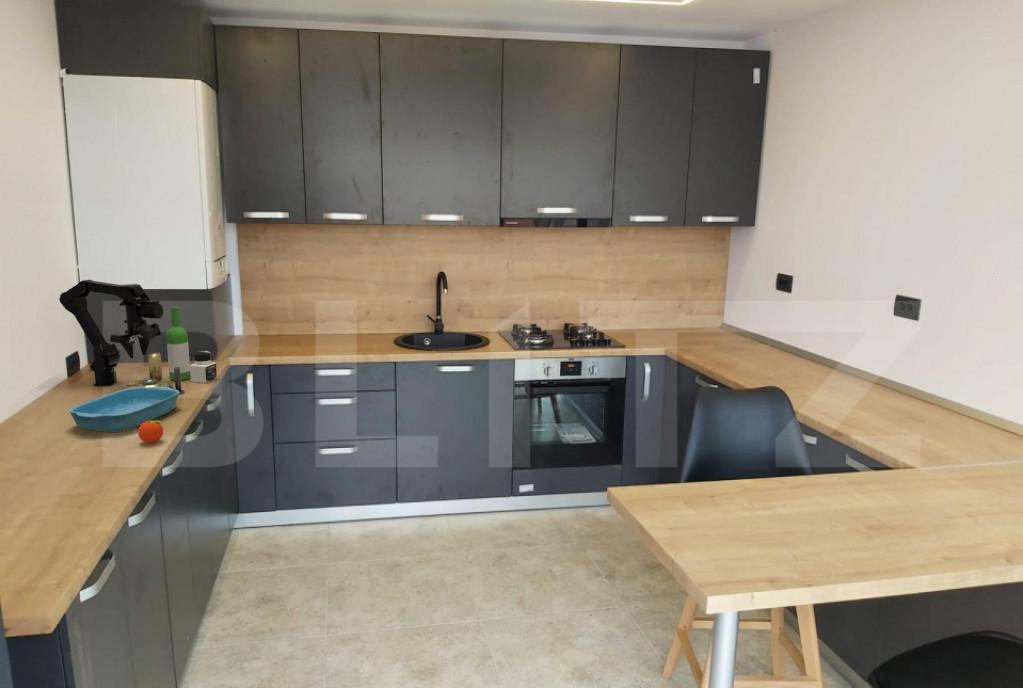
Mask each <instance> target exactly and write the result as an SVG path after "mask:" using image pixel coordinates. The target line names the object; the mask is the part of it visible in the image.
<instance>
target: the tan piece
mask: <svg viewBox="0 0 1023 688" xmlns="http://www.w3.org/2000/svg"><path fill="white" fill-rule="evenodd" d="M147 361H148V362H147V363H148V364H147V365H148V377H147V378H143V379H140V378H139V379H138V378H137V379H134V381H132V382H130V383H127V388H134V387H169V388H170V387H171V385H172V380H171V379H170V378H169V379H168V378H167V379H166V378H163V367H162V354H161V353H160V352H150V353H147Z"/></svg>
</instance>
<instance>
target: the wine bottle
mask: <svg viewBox="0 0 1023 688" xmlns="http://www.w3.org/2000/svg"><path fill="white" fill-rule="evenodd" d="M170 312H171V314H170V315H171V327H170V328H169V329H168V330H167V332H166V347H167V350H166V351H167V361H168V373H169V379H170V380H171V381H174V382H175V375H174V368H175V367H180V377H181V382H182V381H185V380H188V379H191V371H190V365H191V364H190V352H189V351H190V350H189V339H188V331H187V330H186V329H185V328H184V327H183V326H181V318H180V317H181V315H180V314H181V313H180V307H179V306H170Z"/></svg>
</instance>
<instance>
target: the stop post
mask: <svg viewBox="0 0 1023 688" xmlns="http://www.w3.org/2000/svg"><path fill="white" fill-rule="evenodd" d="M174 375H175V381H174V384H175V385H174V387H175V388H174V389H175V390H178V391H179V395H182V394H181V393H183V394H185V390H183V389H182V381H181V377H180V367H175V368H174Z"/></svg>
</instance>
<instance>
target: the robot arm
mask: <svg viewBox="0 0 1023 688" xmlns="http://www.w3.org/2000/svg"><path fill="white" fill-rule="evenodd" d="M91 292H92V293H99V294H105V295H111V296H115V297H117V298H118V299H122V301H121V302H120V303H119V306H122V307H123V306H124V307H125V318H126V319H124V320H123V323H124V324H126V330H124V333H122V332H121V333H120V332H118V333H115V334H114V333H113V334H111V335H110V336H109V340H110V343H112V344H110V343H108V341H107V340H106V339H105V338H104V335H103V334H102V332H101V330H100V329H99V327H98V325H97V324H96V322H95V320H94V318H93V316H92V315H91V313H90V312H89V309H88V301H87V297H88V296H89V295H90V294H91ZM58 300H59V303H60V304H61V305H62V307H63V308H64V309H65V310H66V311H68V312H69V313H70V314H71V315H73V316H74V317H75V320H76V321H77V323H78V324H79V326H80V327H81V329H82V331H83V333H84V334H85V336H86V338H87V339H88V341H89V343H90V345H91V346H92V348H93V350H92V351H93V353H92V357H93V358H94V361H93V362H92V363H91V364H90V365H89V368H90V370H91V372H94V384H93V386H96V387H97V386H98V387H99V386H100V387H101V386H103V387H105V386H106V387H107V386H109V387H110V386H113V385H115V384H116V383H117V382H118V379H117V371H115V367H117V366H118V363H119V362H120V358H121V355H120V353H121V351H120V350H119V349H118V348H117V345H116V344H120V345H121V346H122V348H123V349H124V350H125V352H126V354H127V355H128V357H129V358H130V359H133V358H134V344H135V343H136V341H134V340H133V339H135V338H137V340H138V343H139V348H140V351H141V354H142V355H143V356H146V354H147V350H148V348H149V344H150V342H151V341H152V340H154V339H156V338H155V337H157V336H161V335H162V331H161V329H160V326H159V323H157V322H155V323H151V324H148V323H147V319H158V320H159V319H162V317H163V315H164V308H163V306H162V304H161V303H160V301H159V300H151V298H150V297H149V296H148V294H147V293H146V292H145V290H144V288H143V287H142V285H141V284H138V283H132V284H131V283H129V284H128V283H127V284H118V283H111V282H110V283H109V282H104V281H97V280H92V279H83V280H80V282H78V283H76V285H74V286H72V287H71V288H69V289H68V290H66V291H64V292H61V294H60V295H59V299H58Z"/></svg>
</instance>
